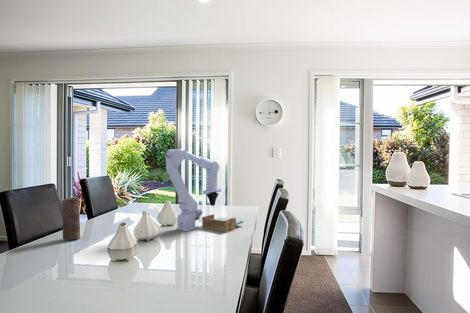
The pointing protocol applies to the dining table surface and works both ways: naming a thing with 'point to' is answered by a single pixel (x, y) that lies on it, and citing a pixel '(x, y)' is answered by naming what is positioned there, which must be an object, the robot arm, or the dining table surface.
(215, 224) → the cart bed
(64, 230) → the candle
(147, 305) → the dining table surface
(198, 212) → the flower
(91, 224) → the dining table surface
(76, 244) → the dining table surface
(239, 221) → the light blue panel
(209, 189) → the robot arm
